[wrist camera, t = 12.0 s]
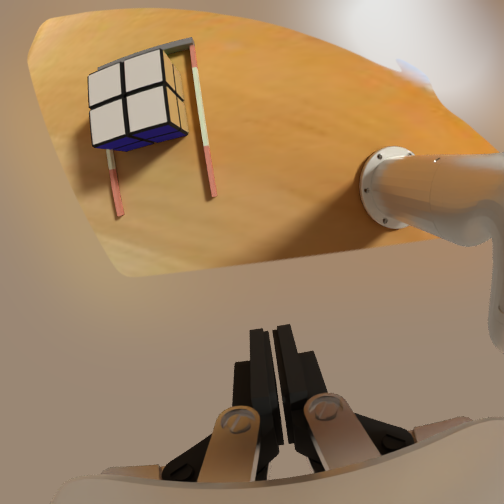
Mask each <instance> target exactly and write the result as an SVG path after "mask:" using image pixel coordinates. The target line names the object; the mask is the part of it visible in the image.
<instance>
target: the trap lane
mask: <svg viewBox="0 0 504 504" xmlns="http://www.w3.org/2000/svg"><path fill="white" fill-rule="evenodd" d="M159 48H161V49H163V50H164V52H165V53H166V55H168V54H171V53H175V52H179V51H183V50H188V49H190V55H191V62H192V70H193V78H194V85H195V92H196V99H197V106H198V113H199V120H200V126H201V133H202V139H203V146H204V152H205V158H206V164H207V170H208V176H209V182H210V188H211V194H212V197H215V196H217V191H216V185H215V179H214V173H213V167H212V161H211V154H210V148H209V142H208V135H207V129H206V122H205V116H204V109H203V102H202V96H201V89H200V82H199V74H198V67H197V60H196V52H195V45H194V41H193V39H192V37H190V38H186V39H182V40H178V41H174V42H170V43H166V44H163V45H159V46H156V47H153V48H149V49H146V50H143V51H140V52H137V53H134V54H131V55H129V56H126V57H123V58H120V59H118V60H115V61H113V62H110V63H108V64H105V65H103V66H101V67H98V70H100V69H103V68H105V67H108V66H110V65H113V64H115V63H118V62H120V61H121V62H124V61H125V60H126V59H128V58H131V57H134V56H137V55H140V54H143V53H146V52H149V51H153V50H156V49H159ZM106 153H107V160H108V167H109V173H110V179H111V185H112V191H113V196H114V201H115V206H116V211H117V216H122V215H124V211H123V206H122V201H121V195H120V190H119V184H118V179H117V173H116V166H115V160H114V152H113V149H112V150H109V149H106Z"/></svg>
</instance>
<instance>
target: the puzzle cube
mask: <svg viewBox="0 0 504 504" xmlns="http://www.w3.org/2000/svg"><path fill="white" fill-rule="evenodd" d="M183 101H184V97H183V89H182V82H181V74H180V73H179V71H178V70H177V69H176V67H175V66H174V64H172V62H171V60H170V59H169V58H168V56H167V55H166V53H165V52H164V50H163V49H161V48H159V49H156V50H153V51H149V52H146V53H143V54H140V55H137V56H134V57H131V58H128V59H126V60H125V61H124V62H121V61H120V62H118V63H115V64H113V65H110V66H108V67H105V68H103V69H100V70H98V71H96V72H94V73H91V74H89V76H88V102H89V108H90V109H91V110H90V112H89V119H90V130H91V140H92V146H93V147H94V148H100V149H109V150H112V149H113V150H118V151H125V152H127V151H130V150H133V149H137V148H140V147H144V146H147V145H151V144H154V142H157V143H158V142H162V141H166V140H170V139H174V138H179V137H183V136H187V135H188V133H189V131H188V125H187V118H186V111H185V104H184V103H183Z"/></svg>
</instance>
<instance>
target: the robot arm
mask: <svg viewBox="0 0 504 504" xmlns="http://www.w3.org/2000/svg"><path fill="white" fill-rule="evenodd" d="M407 155H408V156H407ZM377 156H378V158H377ZM359 189H360V196H361V201H362V203H363V206H364V208H365V210H366V211H367V213H368V214H369V216H370V217H371V218H372V219H373V220H374V221H376V222H377V223H379V224H380V225H382V226H385V227H388V228H392V229H399V228H404V227H407V226H409V225H411V226H413V227H416V228H418V229H421V230H423V231H426V232H428V233H430V234H433V235H435V236H438V237H440V238H442V239H445V240H447V241H450V242H452V243H455V244H457V245H460V246H466V247H470V246H477V245H479V244H481V243H483V242H485V241H487V240H489V239H490V238H492V242H493V271H492V272H493V273H492V284H491V294H490V305H489V314H488V330H489V335H490V338H491V340H492V342H493V344H494V345H495V347H496V348H497V349H498V350H499V351H500V352H502V353H503V354H504V152H502V153H493V154H476V155H415V154H414V153H412V152H411V151H409V150H407V149H405V148H402V147H398V146H389V147H385V148H381V149H379V150H377V151H375V152H374V153H373V154H372V155H371V156H370V157H369V158H368V160H367V161H366V162H365V164H364V166H363V168H362V172H361V175H360V182H359ZM364 189H366V191H365V192H364ZM383 219H384V221H383ZM273 338H274V345H275V352H276V359H277V366H278V372H279V380H280V387H281V393H282V401H283V407H284V414H285V421H286V428H287V435H288V442H289V444H291V443H294V445H295V450H296V451H297V452H299V453H300V454H303V455H304V456H306V459H307V462H308V465H309V467H310V470H311V472H312V474H309V475H303V476H296V477H290V478H283V479H274V480H269V477H270V469H271V460H273V459H274V457H276V456H277V455H278V454H279V445H284V440H283V432H282V425H281V416H280V409H279V402H278V394H277V385H276V378H275V372H274V365H273V359H272V352H271V346H270V339H269V332H268V331H265V332H263V329H262V328H261V329H255V330H250V361H243V362H236V363H235V366H234V367H235V368H234V385H233V403H232V407H230V408H228V409H226V410H224V411H223V412H222V413H221V414H220V415H219V416H218V418H217V420H216V423H215V426H214V430H213V433H212V434H211V435H209V436H208V437H207V438H205V439H204V440H202V441H201V442H199V443H198V444H196V445H195V446H194V447H192V448H191V449H189V450H187V451H186V452H184V453H183V454H181V455H180V456H178V457H177V458H175V459H174V460H172V461H170V462H169V463H168V464H167V465H166V466H162V467H160V466H159V465H158V464H157V465H145V466H127V467H110V468H107V469H105V470H104V471H103V472H102V473H101V474H99V475H87V476H80V477H76V478H72V479H70V480H68V481H66V482H65V483H64V484H62V486H61V487H60V488H59V489H58V491H57V492H56V494H55V495H54V497H53V499H52V501H51V503H50V504H504V417H488V418H483V419H478V420H471V419H470V418H469V417H464V416H462V417H456V418H452V419H448V420H444V421H440V422H436V423H432V424H427V425H423V426H418V427H414V429H413V430H410V431H407V430H405V429H403V428H400V427H397V426H393V425H390V424H386V423H384V422H380V421H377V420H374V419H371V418H368V417H365V416H362V415H359V414H356V413H354V412H353V411H352V409H351V408H350V406H349V404H348V403H347V401H346V400H345V399H344V398H343V397H342V396H340V395H338V394H334V393H328V392H327V389H326V386H325V383H324V380H323V377H322V374H321V371H320V368H319V366H318V362H317V359H316V357H315V354H314V351H309V352H304V353H297V349H296V345H295V341H294V338H293V334H292V330H291V326H290V324H287V325H281V326H277V330H273Z"/></svg>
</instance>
